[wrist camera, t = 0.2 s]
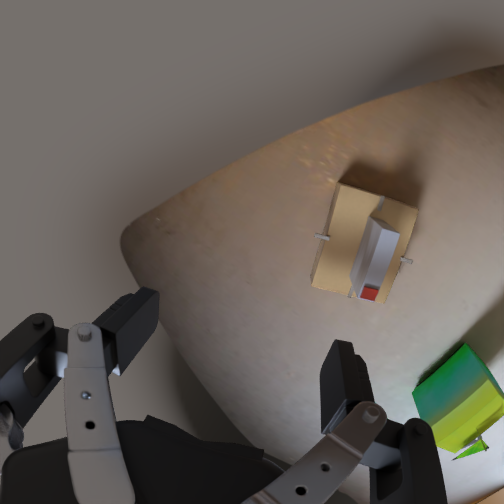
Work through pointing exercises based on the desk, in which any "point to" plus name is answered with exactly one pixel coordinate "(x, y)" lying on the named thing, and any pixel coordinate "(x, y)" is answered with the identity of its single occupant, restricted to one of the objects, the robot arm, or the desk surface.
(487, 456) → the desk surface
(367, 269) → the upright gray plate
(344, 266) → the block
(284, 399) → the desk surface
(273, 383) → the desk surface
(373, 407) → the robot arm
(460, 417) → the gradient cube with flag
